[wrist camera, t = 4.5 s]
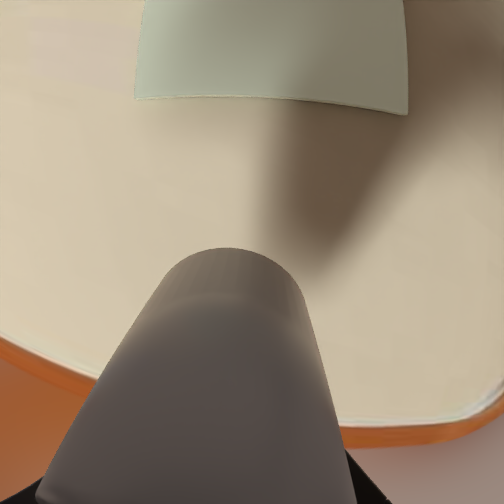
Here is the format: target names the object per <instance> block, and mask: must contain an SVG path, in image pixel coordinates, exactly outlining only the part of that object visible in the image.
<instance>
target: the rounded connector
mask: <svg viewBox="0 0 504 504" xmlns="http://www.w3.org/2000/svg"><path fill="white" fill-rule="evenodd" d="M35 497H36V501H37V503H38V504H357V501H356V496H355V492H354V487H353V483H352V479H351V474H350V470H349V466H348V461H347V457H346V453H345V449H344V445H343V441H342V436H341V432H340V428H339V424H338V420H337V416H336V413H335V409H334V405H333V401H332V397H331V393H330V389H329V386H328V382H327V378H326V374H325V371H324V367H323V363H322V360H321V356H320V352H319V349H318V345H317V342H316V338H315V334H314V331H313V327H312V324H311V320H310V317H309V313H308V310H307V307H306V303H305V300H304V297H303V295H302V292H301V290H300V288H299V287H298V285H297V283H296V282H295V280H294V279H293V278H292V277H291V276H290V274H289V273H288V272H286V271H285V270H284V269H283V268H282V267H281V266H280V265H278V264H277V263H275V262H274V261H272V260H270V259H269V258H267V257H265V256H263V255H260V254H257V253H255V252H252V251H248V250H243V249H236V248H216V249H209V250H205V251H201V252H198V253H195V254H193V255H191V256H189V257H187V258H185V259H183V260H182V261H180V262H179V263H178V264H176V265H175V266H174V267H173V268H172V269H171V270H170V271H169V272H168V273H167V274H166V275H165V277H164V278H163V280H162V281H161V283H160V284H159V286H158V287H157V289H156V290H155V292H154V293H153V294H152V296H151V297H150V299H149V300H148V302H147V303H146V305H145V306H144V308H143V309H142V311H141V312H140V314H139V315H138V317H137V319H136V320H135V322H134V323H133V325H132V326H131V328H130V329H129V331H128V332H127V334H126V335H125V337H124V339H123V340H122V342H121V343H120V345H119V346H118V348H117V350H116V351H115V353H114V354H113V356H112V358H111V359H110V361H109V362H108V364H107V366H106V367H105V369H104V371H103V372H102V374H101V375H100V377H99V379H98V380H97V382H96V384H95V385H94V387H93V389H92V390H91V392H90V394H89V395H88V397H87V399H86V401H85V402H84V404H83V406H82V407H81V409H80V411H79V413H78V414H77V416H76V418H75V420H74V421H73V423H72V425H71V427H70V428H69V430H68V432H67V434H66V436H65V438H64V439H63V441H62V443H61V445H60V446H59V449H58V450H57V452H56V454H55V456H54V458H53V460H52V461H51V463H50V465H49V467H48V469H47V471H46V473H45V475H44V477H43V479H42V481H41V483H40V485H39V487H38V489H37V491H36V494H35Z"/></svg>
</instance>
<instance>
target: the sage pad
mask: <svg viewBox="0 0 504 504" xmlns="http://www.w3.org/2000/svg"><path fill="white" fill-rule="evenodd" d="M179 97H261V98H279V99H292V100H304V101H314V102H323V103H331V104H339V105H346V106H353V107H359V108H365V109H371V110H377V111H382V112H387V113H392V114H397V115H402V116H403V115H408V56H407V39H406V26H405V15H404V6H403V0H145V4H144V10H143V16H142V23H141V30H140V38H139V46H138V55H137V65H136V76H135V89H134V99H136V100H148V99H161V98H179Z"/></svg>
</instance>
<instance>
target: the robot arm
mask: <svg viewBox="0 0 504 504" xmlns="http://www.w3.org/2000/svg"><path fill="white" fill-rule="evenodd" d="M344 449H345V448H344ZM345 453H346V457H347V461H348V466H349V470H350V474H351V479H352V483H353V487H354V492H355V496H356V501H357V504H392V503H391V502H390V500H386V499H387V497H386V496H385V495H384V494H383V493H382V492H381V490H380V489H379V488H378V487H377V486H376V485H375V484H374V483H373V481H372V480H371V479H370V478H369V477H368V476H367V474H366V473H365V472H364V471H363V470H362V469H361V467H360V466H359V465H358V464H357V463H356V461H355V460H354V459H353V458H352V457H351V456H350V455H349V453H348V452H347V451H346V450H345ZM43 477H44V476H43ZM43 477H41V478H40V479H39V480H37V481H36V482H34V483H33V484H31V485H30V486H28V487H27V488H25V489H23V490H22V491H20V492H18V493H16V494H15V495H13V496H11V497H9V498H7V499H5V500H3V501H1V502H0V504H38V503H37V501H36V497H35V494H36V491H37V489H38V487H39V485H40V483H41V481H42V479H43Z"/></svg>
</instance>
